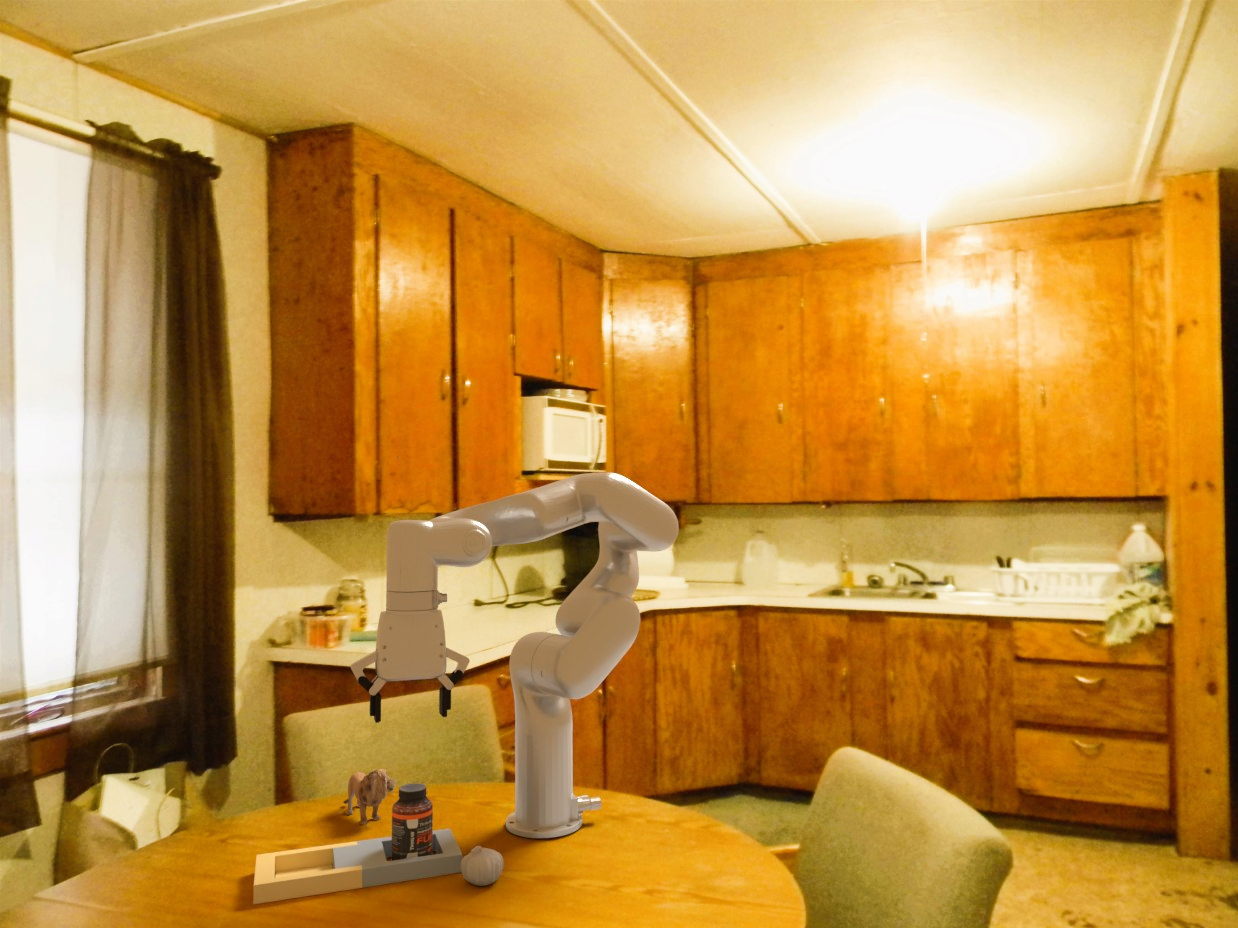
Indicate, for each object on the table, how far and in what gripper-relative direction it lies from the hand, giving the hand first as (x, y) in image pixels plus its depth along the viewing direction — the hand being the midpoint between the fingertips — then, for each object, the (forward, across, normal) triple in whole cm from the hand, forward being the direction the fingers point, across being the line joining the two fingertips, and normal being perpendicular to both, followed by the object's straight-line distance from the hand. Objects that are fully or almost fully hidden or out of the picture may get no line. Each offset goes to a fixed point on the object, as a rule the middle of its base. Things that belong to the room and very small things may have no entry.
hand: (410, 717), depth 131 cm
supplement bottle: (+22, 0, 0) cm, 22 cm away
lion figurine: (+22, +4, -24) cm, 32 cm away
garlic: (+22, -9, +10) cm, 25 cm away
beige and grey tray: (+22, +7, 0) cm, 23 cm away
